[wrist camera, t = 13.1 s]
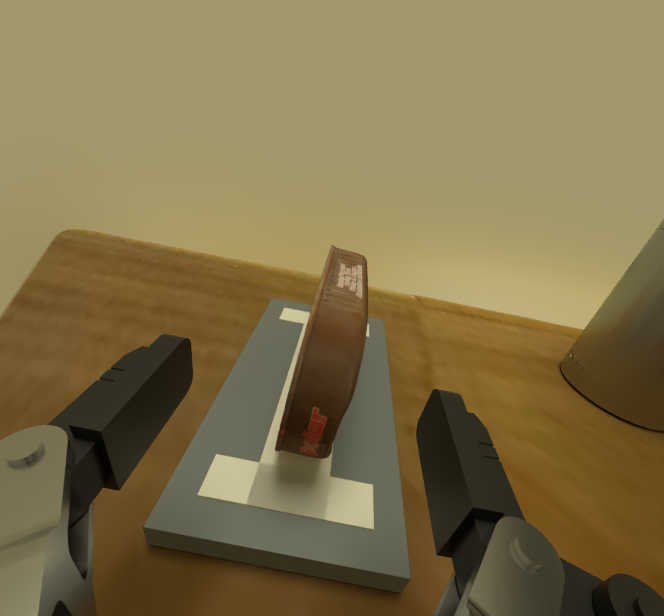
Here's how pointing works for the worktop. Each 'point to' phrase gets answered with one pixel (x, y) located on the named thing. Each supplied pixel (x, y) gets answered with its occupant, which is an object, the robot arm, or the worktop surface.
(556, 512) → the worktop surface
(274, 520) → the letter board
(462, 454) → the robot arm
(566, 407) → the worktop surface
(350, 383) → the tin
